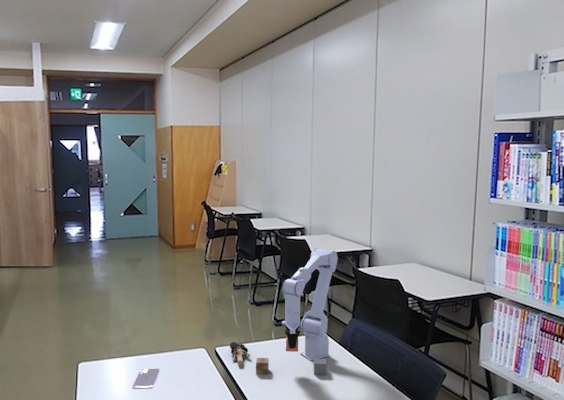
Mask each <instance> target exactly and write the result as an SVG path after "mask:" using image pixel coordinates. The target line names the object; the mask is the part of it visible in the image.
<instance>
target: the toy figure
mask: <svg viewBox="0 0 564 400" xmlns="http://www.w3.org/2000/svg"><path fill="white" fill-rule="evenodd" d="M229 348H230V349H231V350H230V353H231V354H232V356H233V357H232V360H233V362H235V361H237V365H238V367H239V368H240V367H244V359H246V358H247V357H248V358H250V357H251V354H250V353H248V352H249V350H248V349H249V348H248V347H246V345H245V344H243V343H237V342H236V341H232V342H231V343H229Z"/></svg>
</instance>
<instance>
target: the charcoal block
mask: <svg viewBox="0 0 564 400" xmlns="http://www.w3.org/2000/svg"><path fill="white" fill-rule="evenodd" d="M326 360H327V359H326V358H320V359H314V360H313V375H314V376H327V361H326Z"/></svg>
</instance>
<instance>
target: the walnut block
mask: <svg viewBox="0 0 564 400" xmlns="http://www.w3.org/2000/svg"><path fill="white" fill-rule="evenodd" d="M269 361H270V359H269V357H257V358H256V361H255V374H256V375H269V366H270V365H269V364H270V363H269Z"/></svg>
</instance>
